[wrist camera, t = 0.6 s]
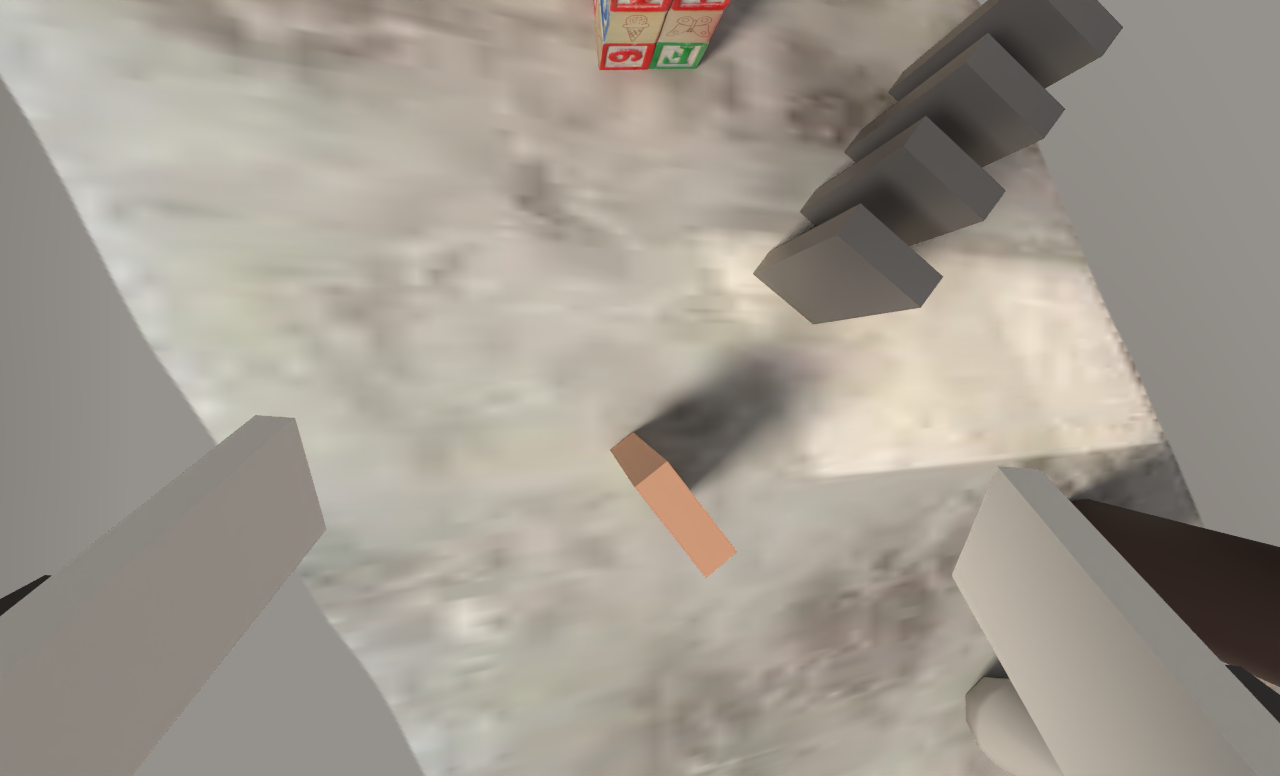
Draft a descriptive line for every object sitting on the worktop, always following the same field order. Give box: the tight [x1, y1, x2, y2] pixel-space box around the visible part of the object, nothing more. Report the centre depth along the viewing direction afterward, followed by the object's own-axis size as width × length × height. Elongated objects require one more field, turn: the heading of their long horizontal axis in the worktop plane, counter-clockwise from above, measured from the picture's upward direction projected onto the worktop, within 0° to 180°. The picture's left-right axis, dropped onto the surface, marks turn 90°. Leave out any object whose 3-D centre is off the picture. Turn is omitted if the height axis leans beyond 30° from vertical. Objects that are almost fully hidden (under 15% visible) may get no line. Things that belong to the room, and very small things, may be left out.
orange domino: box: [610, 432, 737, 578], centre depth 30 cm, size 2×5×11 cm, turn 38°
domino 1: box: [845, 33, 1065, 167], centre depth 32 cm, size 2×5×11 cm, turn 53°
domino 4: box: [889, 0, 1123, 101], centre depth 32 cm, size 2×5×11 cm, turn 53°
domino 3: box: [753, 203, 943, 324], centre depth 31 cm, size 2×5×11 cm, turn 52°
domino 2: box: [800, 116, 1006, 246], centre depth 32 cm, size 2×5×11 cm, turn 52°
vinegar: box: [1071, 500, 1280, 687], centre depth 31 cm, size 7×7×20 cm
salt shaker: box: [966, 677, 1064, 776], centre depth 34 cm, size 6×6×13 cm
